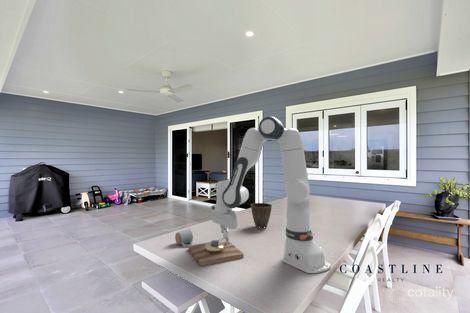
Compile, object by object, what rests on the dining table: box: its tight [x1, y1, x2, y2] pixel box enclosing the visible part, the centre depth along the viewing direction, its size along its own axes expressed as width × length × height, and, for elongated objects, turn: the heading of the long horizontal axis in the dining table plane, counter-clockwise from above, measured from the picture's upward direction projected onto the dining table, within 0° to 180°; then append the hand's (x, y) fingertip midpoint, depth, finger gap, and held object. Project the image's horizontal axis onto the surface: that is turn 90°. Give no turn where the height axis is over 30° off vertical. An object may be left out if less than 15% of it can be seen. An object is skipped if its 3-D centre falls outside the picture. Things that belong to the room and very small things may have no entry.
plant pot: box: [250, 202, 273, 229], centre depth 162 cm, size 15×15×16 cm
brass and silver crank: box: [205, 228, 230, 253], centre depth 119 cm, size 10×16×8 cm, turn 142°
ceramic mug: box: [174, 228, 194, 248], centre depth 129 cm, size 11×8×8 cm
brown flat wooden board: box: [188, 240, 245, 267], centre depth 116 cm, size 22×22×2 cm
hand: (223, 233), depth 126 cm, fingers closed
